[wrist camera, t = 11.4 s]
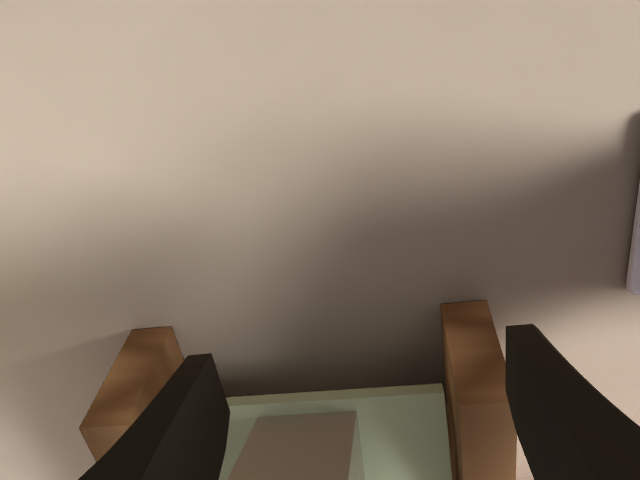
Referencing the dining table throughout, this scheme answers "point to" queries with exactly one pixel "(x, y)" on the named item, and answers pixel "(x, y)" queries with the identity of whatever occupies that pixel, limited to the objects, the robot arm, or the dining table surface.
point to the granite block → (302, 448)
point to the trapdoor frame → (460, 381)
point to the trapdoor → (363, 427)
